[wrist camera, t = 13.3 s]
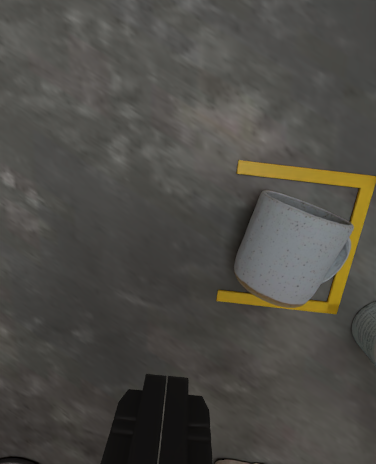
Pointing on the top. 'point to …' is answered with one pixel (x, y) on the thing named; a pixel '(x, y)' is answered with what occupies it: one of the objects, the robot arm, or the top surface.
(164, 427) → the robot arm
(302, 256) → the ceramic mug
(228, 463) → the brick
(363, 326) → the spray paint can
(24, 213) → the top surface
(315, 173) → the tape outline
